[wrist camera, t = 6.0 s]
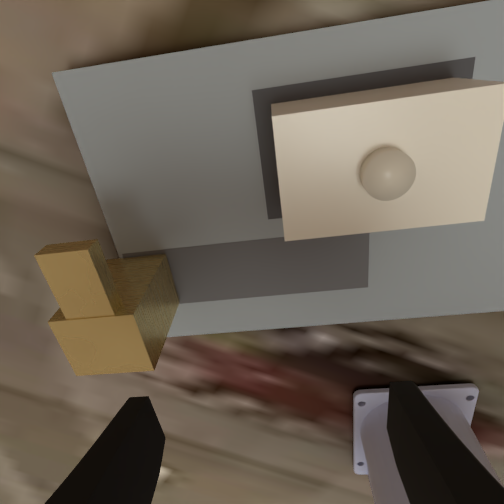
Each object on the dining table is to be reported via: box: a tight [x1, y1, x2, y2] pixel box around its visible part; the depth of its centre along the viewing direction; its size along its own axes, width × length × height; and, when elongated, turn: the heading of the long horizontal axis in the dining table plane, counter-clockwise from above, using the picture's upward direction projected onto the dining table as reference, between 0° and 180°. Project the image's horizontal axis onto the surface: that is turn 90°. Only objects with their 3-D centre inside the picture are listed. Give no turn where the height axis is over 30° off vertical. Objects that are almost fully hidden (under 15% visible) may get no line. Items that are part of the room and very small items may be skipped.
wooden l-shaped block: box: [34, 239, 180, 376], centre depth 16 cm, size 6×4×5 cm, turn 8°
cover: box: [271, 78, 504, 241], centre depth 13 cm, size 4×7×4 cm, turn 98°
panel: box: [52, 0, 504, 337], centre depth 17 cm, size 14×20×2 cm
